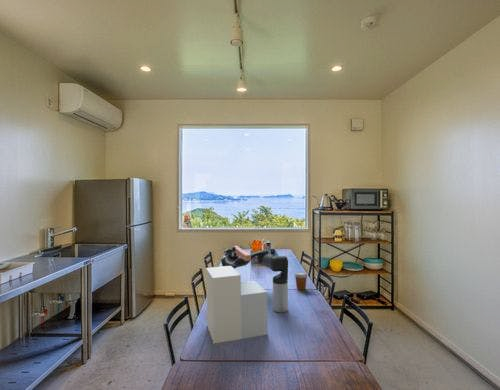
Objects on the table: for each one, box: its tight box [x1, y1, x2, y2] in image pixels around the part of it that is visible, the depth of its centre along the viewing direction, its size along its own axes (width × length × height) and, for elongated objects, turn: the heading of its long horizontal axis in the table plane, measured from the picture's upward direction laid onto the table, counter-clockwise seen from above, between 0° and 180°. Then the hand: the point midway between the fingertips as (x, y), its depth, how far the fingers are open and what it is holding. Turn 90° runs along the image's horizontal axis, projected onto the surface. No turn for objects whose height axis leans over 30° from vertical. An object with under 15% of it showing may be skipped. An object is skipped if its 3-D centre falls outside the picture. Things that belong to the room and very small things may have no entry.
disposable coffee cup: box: [294, 271, 308, 291], centre depth 219 cm, size 10×10×12 cm
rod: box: [232, 245, 252, 262], centre depth 169 cm, size 28×3×3 cm, turn 18°
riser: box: [205, 265, 269, 345], centre depth 155 cm, size 20×28×32 cm
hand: (237, 247), depth 177 cm, fingers closed on rod, 3 cm apart
